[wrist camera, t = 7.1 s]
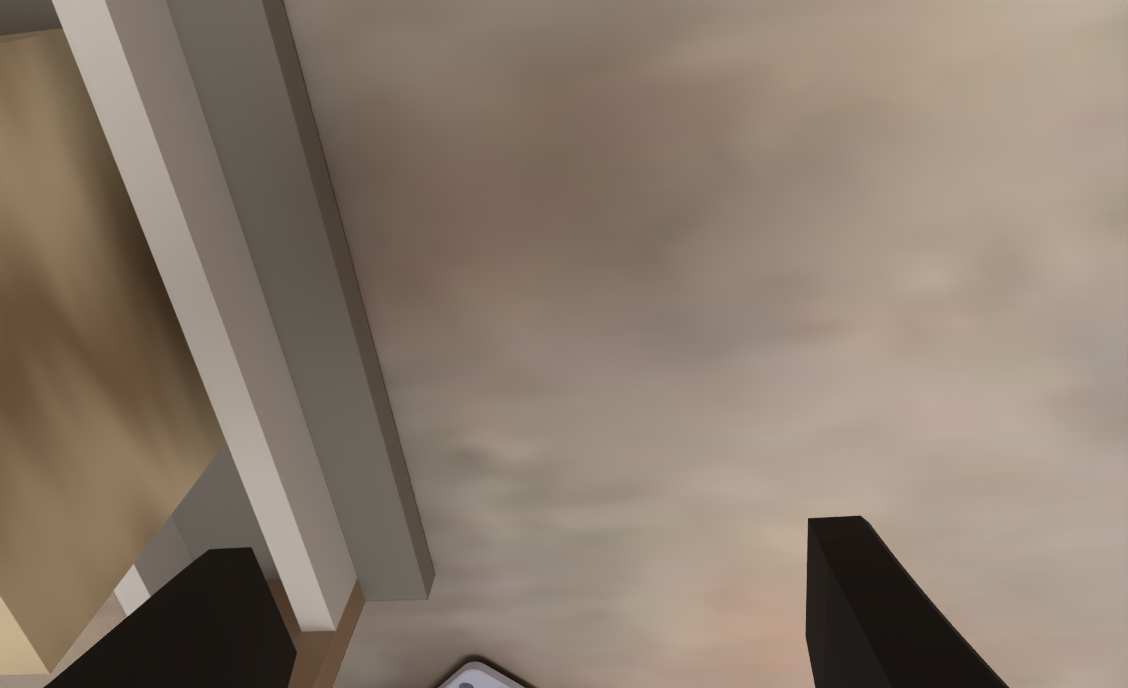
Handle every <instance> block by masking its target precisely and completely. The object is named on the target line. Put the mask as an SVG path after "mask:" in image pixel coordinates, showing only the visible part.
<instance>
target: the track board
mask: <svg viewBox="0 0 1128 688" xmlns="http://www.w3.org/2000/svg"><path fill="white" fill-rule="evenodd" d="M57 28H63V30H64V32H65V35H66V37H67V40H68V43H69V45H70V48H71V50H72V53H73V55H74V58H75V60H76V63H77V65H78V68H79V70H80V73H81V75H82V78H83V80H84V83H85V85H86V88H87V91H88V93H89V96H90V98H91V101H92V103H93V106H94V108H95V111H96V113H97V116H98V118H99V121H100V123H101V126H102V128H103V131H104V133H105V136H106V139H107V141H108V144H109V146H110V149H111V151H112V154H113V156H114V159H115V161H116V164H117V166H118V169H119V171H120V174H121V176H122V179H123V181H124V184H125V187H126V189H127V192H128V194H129V197H130V199H131V202H132V204H133V207H134V209H135V212H136V214H137V217H138V219H139V222H140V224H141V227H142V229H143V232H144V235H145V237H146V240H147V242H148V245H149V247H150V250H151V252H152V255H153V257H154V260H155V262H156V265H157V267H158V270H159V272H160V275H161V277H162V280H163V283H164V285H165V288H166V290H167V293H168V295H169V298H170V300H171V303H172V305H173V308H174V310H175V313H176V315H177V318H178V320H179V323H180V325H181V328H182V331H183V333H184V336H185V338H186V341H187V343H188V346H189V348H190V351H191V353H192V356H193V358H194V361H195V363H196V366H197V368H198V371H199V373H200V376H201V379H202V381H203V384H204V386H205V389H206V391H207V394H208V396H209V399H210V401H211V404H212V406H213V409H214V411H215V414H216V416H217V419H218V421H219V424H220V427H221V429H222V432H223V434H224V437H225V439H226V443H225V444H224V446H223V447H222V448H221V450H220V451H219V452H218V454H217V455H216V456H215V458H214V459H213V460H212V462H211V463H210V464H209V466H208V467H207V468H206V469H205V471H204V472H203V473H202V475H201V476H200V477H199V479H198V480H197V481H196V483H195V484H194V485H193V487H192V488H191V489H190V491H189V492H188V493H187V494H186V496H185V497H184V498H183V500H182V501H181V502H180V504H179V505H178V506H177V508H176V509H175V510H174V512H173V513H172V514H171V515H170V517H169V518H168V519H167V521H166V522H165V523H164V525H163V526H162V527H161V529H160V530H159V531H158V533H157V534H156V535H155V537H154V538H153V539H152V540H151V542H150V543H149V544H148V546H147V547H146V548H145V550H144V551H143V552H142V554H141V555H140V556H139V558H138V559H137V560H136V562H135V563H134V564H133V565H132V567H131V568H130V569H129V571H128V572H127V573H126V575H125V576H124V577H123V579H122V580H121V581H120V583H119V584H118V585H117V586H116V588H115V589H114V590H113V591H114V592H115V594H116V596H117V598H118V600H119V602H120V604H121V605H122V607H123V609H124V611H125V613H126V615H127V616H129V615H130V614H131V613H132V612H134V611H135V610H136V609H137V608H138V607H139V606H141V605H142V604H143V603H144V602H145V601H146V600H148V599H149V598H150V597H151V596H152V595H153V594H155V593H156V592H157V591H158V590H159V589H160V588H162V587H163V586H164V585H165V584H166V583H168V582H169V581H170V580H171V579H172V578H174V577H175V576H176V575H177V574H178V573H180V572H181V571H182V570H183V569H184V568H186V567H187V566H188V565H189V564H191V563H192V562H193V561H194V560H196V559H197V558H198V557H200V556H201V555H202V554H204V553H205V552H206V551H207V550H209V549H222V548H241V547H252V549H253V552H254V554H255V556H256V559H257V561H258V563H259V566H260V568H261V570H262V572H263V575H264V577H265V579H266V582H267V584H268V586H269V589H270V591H271V593H272V596H273V598H274V600H275V602H276V605H277V607H278V609H279V612H280V614H281V616H282V619H283V621H284V623H285V626H286V628H287V630H288V632H289V635H290V637H291V639H292V642H293V644H294V646H295V649H296V651H297V655H296V659H295V663H294V666H293V670H292V674H291V677H290V681H289V685H288V688H332V686H333V684H334V681H335V679H336V676H337V673H338V671H339V668H340V666H341V663H342V660H343V658H344V655H345V652H346V650H347V647H348V645H349V642H350V639H351V637H352V634H353V632H354V629H355V626H356V624H357V621H358V618H359V616H360V613H361V611H362V608H363V605H364V603H365V601H391V600H428V597H429V594H430V590H431V587H432V583H433V580H434V577H435V574H434V570H433V566H432V562H431V559H430V555H429V551H428V547H427V543H426V540H425V536H424V532H423V528H422V525H421V521H420V517H419V513H418V510H417V506H416V502H415V498H414V494H413V491H412V487H411V483H410V479H409V476H408V472H407V468H406V464H405V461H404V457H403V453H402V449H401V445H400V442H399V438H398V434H397V430H396V427H395V423H394V419H393V415H392V412H391V408H390V404H389V400H388V396H387V393H386V389H385V385H384V381H383V378H382V374H381V370H380V366H379V363H378V359H377V355H376V351H375V348H374V344H373V340H372V336H371V332H370V329H369V325H368V321H367V317H366V314H365V310H364V306H363V302H362V299H361V295H360V291H359V287H358V283H357V280H356V276H355V272H354V268H353V265H352V261H351V257H350V253H349V250H348V246H347V242H346V238H345V234H344V231H343V227H342V223H341V219H340V216H339V212H338V208H337V204H336V201H335V197H334V193H333V189H332V185H331V182H330V178H329V174H328V170H327V167H326V163H325V159H324V155H323V152H322V148H321V144H320V140H319V136H318V133H317V129H316V125H315V121H314V118H313V114H312V110H311V106H310V103H309V99H308V95H307V91H306V87H305V84H304V80H303V76H302V72H301V69H300V65H299V61H298V57H297V54H296V50H295V46H294V42H293V39H292V35H291V31H290V27H289V23H288V20H287V16H286V12H285V8H284V5H283V1H282V0H0V35H7V34H15V33H24V32H32V31H40V30H49V29H57Z"/></svg>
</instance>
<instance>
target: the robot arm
mask: <svg viewBox="0 0 1128 688" xmlns="http://www.w3.org/2000/svg"><path fill="white" fill-rule="evenodd" d="M806 641H807V646H808V651H809V656H810V662H811V667H812V672H813V677H814V683H815V688H1009V687H1008V686H1007V685H1006V684H1005V683H1004V681H1003V680H1002V679H1001V678H1000V677H999V676H998V675H997V674H996V673H995V672H994V671H993V670H992V669H991V668H990V666H989V665H988V664H987V663H986V662H985V661H984V660H983V659H982V658H981V657H980V655H979V654H978V653H977V652H976V651H975V650H974V649H973V648H972V647H971V645H970V644H969V643H968V642H967V641H966V640H965V639H964V638H963V637H962V636H961V634H960V633H959V632H958V631H957V630H956V629H955V628H954V627H953V626H952V624H951V623H950V622H949V621H948V620H947V619H946V618H945V616H944V615H943V614H942V613H941V612H940V611H939V609H938V608H937V607H936V606H935V605H934V604H933V602H932V601H931V600H930V599H929V598H928V596H927V595H926V594H925V593H924V592H923V590H922V589H921V588H920V587H919V586H918V584H917V583H916V582H915V581H914V580H913V578H912V577H911V576H910V575H909V574H908V572H907V571H906V570H905V569H904V567H903V566H902V565H901V564H900V562H899V561H898V560H897V559H896V557H895V556H894V555H893V553H892V552H891V551H890V550H889V548H888V547H887V546H886V544H885V543H884V542H883V541H882V539H881V538H880V537H879V535H878V534H877V533H876V531H875V530H874V529H873V527H872V526H871V525H870V523H869V522H868V521H866V520H865V519H864V518H863V517H861V516H845V517H825V518H808V547H807V595H806ZM296 655H297V651H296V649H295V646H294V644H293V642H292V639H291V637H290V635H289V632H288V630H287V628H286V626H285V623H284V621H283V619H282V616H281V614H280V612H279V609H278V607H277V605H276V602H275V600H274V598H273V596H272V593H271V591H270V589H269V586H268V584H267V582H266V579H265V577H264V575H263V572H262V570H261V568H260V566H259V563H258V561H257V559H256V556H255V554H254V552H253V549H252V547H241V548H222V549H209V550H207V551H206V552H205V553H204V554H202V555H201V556H200V557H198V558H197V559H196V560H194V561H193V562H192V563H191V564H189V565H188V566H187V567H186V568H184V569H183V570H182V571H181V572H180V573H178V574H177V575H176V576H175V577H174V578H172V579H171V580H170V581H169V582H168V583H166V584H165V585H164V586H163V587H162V588H160V589H159V590H158V591H157V592H156V593H155V594H153V595H152V596H151V597H150V598H149V599H148V600H146V601H145V602H144V603H143V604H142V605H141V606H139V607H138V608H137V609H136V610H135V611H134V612H132V613H131V614H130V615H129V616H128V617H127V618H125V619H124V620H123V621H122V622H121V623H120V624H118V625H117V626H116V627H115V628H114V629H113V630H111V631H110V632H109V633H108V634H107V635H106V636H104V637H103V638H102V639H101V640H100V641H98V642H97V643H96V644H95V645H94V646H93V647H91V648H90V649H89V650H88V651H87V652H86V653H84V654H83V655H82V656H81V657H80V658H78V659H77V660H76V661H75V662H74V663H73V664H71V665H70V666H69V667H68V668H67V669H66V670H64V671H63V672H62V673H61V674H60V675H58V676H57V677H56V678H55V679H54V680H52V681H51V682H50V683H49V684H48V685H46V686H45V687H44V688H288V685H289V681H290V677H291V674H292V670H293V666H294V663H295V659H296ZM438 688H525V687H523V686H521V685H520V684H518V683H516V682H515V681H513V680H511V679H509V678H508V677H506V676H504V675H502V674H501V673H499V672H497V671H495V670H494V669H492V668H490V667H489V666H487V665H485V664H483V663H480V662H469V663H467V664H465V665H464V666H463V667H461V668H460V669H459V670H458V671H457V672H456V673H455V674H453V675H452V676H451V677H450V678H449V679H448V680H446V681H445V682H444V683H443V684H442V685H441V686H439V687H438Z"/></svg>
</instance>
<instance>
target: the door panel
mask: <svg viewBox="0 0 1128 688" xmlns="http://www.w3.org/2000/svg"><path fill="white" fill-rule="evenodd" d="M225 443H226V439H225V437H224V434H223V432H222V429H221V427H220V424H219V421H218V419H217V416H216V414H215V411H214V409H213V406H212V404H211V401H210V399H209V396H208V394H207V391H206V389H205V386H204V384H203V381H202V379H201V376H200V373H199V371H198V368H197V366H196V363H195V361H194V358H193V356H192V353H191V351H190V348H189V346H188V343H187V341H186V338H185V336H184V333H183V331H182V328H181V325H180V323H179V320H178V318H177V315H176V313H175V310H174V308H173V305H172V303H171V300H170V298H169V295H168V293H167V290H166V288H165V285H164V283H163V280H162V277H161V275H160V272H159V270H158V267H157V265H156V262H155V260H154V257H153V255H152V252H151V250H150V247H149V245H148V242H147V240H146V237H145V235H144V232H143V229H142V227H141V224H140V222H139V219H138V217H137V214H136V212H135V209H134V207H133V204H132V202H131V199H130V197H129V194H128V192H127V189H126V187H125V184H124V181H123V179H122V176H121V174H120V171H119V169H118V166H117V164H116V161H115V159H114V156H113V154H112V151H111V149H110V146H109V144H108V141H107V139H106V136H105V133H104V131H103V128H102V126H101V123H100V121H99V118H98V116H97V113H96V111H95V108H94V106H93V103H92V101H91V98H90V96H89V93H88V91H87V88H86V85H85V83H84V80H83V78H82V75H81V73H80V70H79V68H78V65H77V63H76V60H75V58H74V55H73V53H72V50H71V48H70V45H69V43H68V40H67V37H66V35H65V32H64V30H63V28H57V29H49V30H40V31H32V32H24V33H15V34H7V35H0V675H17V674H50V673H51V672H52V671H53V669H54V668H55V667H56V665H57V664H58V663H59V661H60V660H61V659H62V657H63V656H64V655H65V654H66V652H67V651H68V650H69V648H70V647H71V646H72V644H73V643H74V642H75V640H76V639H77V638H78V636H79V635H80V634H81V633H82V631H83V630H84V629H85V627H86V626H87V625H88V623H89V622H90V621H91V619H92V618H93V617H94V615H95V614H96V613H97V611H98V610H99V609H100V608H101V606H102V605H103V604H104V602H105V601H106V600H107V598H108V597H109V596H110V594H111V593H112V592H113V590H114V589H115V588H116V586H117V585H118V584H119V583H120V581H121V580H122V579H123V577H124V576H125V575H126V573H127V572H128V571H129V569H130V568H131V567H132V565H133V564H134V563H135V562H136V560H137V559H138V558H139V556H140V555H141V554H142V552H143V551H144V550H145V548H146V547H147V546H148V544H149V543H150V542H151V540H152V539H153V538H154V537H155V535H156V534H157V533H158V531H159V530H160V529H161V527H162V526H163V525H164V523H165V522H166V521H167V519H168V518H169V517H170V515H171V514H172V513H173V512H174V510H175V509H176V508H177V506H178V505H179V504H180V502H181V501H182V500H183V498H184V497H185V496H186V494H187V493H188V492H189V491H190V489H191V488H192V487H193V485H194V484H195V483H196V481H197V480H198V479H199V477H200V476H201V475H202V473H203V472H204V471H205V469H206V468H207V467H208V466H209V464H210V463H211V462H212V460H213V459H214V458H215V456H216V455H217V454H218V452H219V451H220V450H221V448H222V447H223V446H224V444H225Z"/></svg>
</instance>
